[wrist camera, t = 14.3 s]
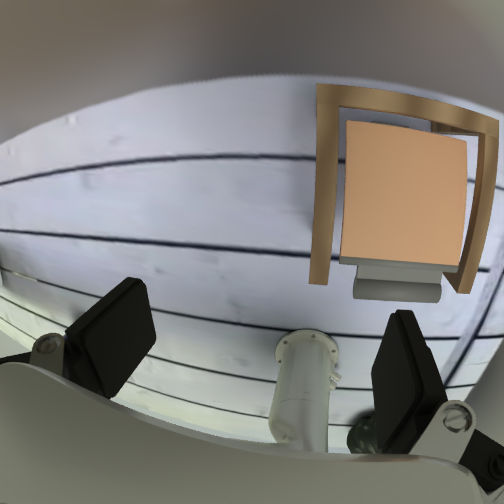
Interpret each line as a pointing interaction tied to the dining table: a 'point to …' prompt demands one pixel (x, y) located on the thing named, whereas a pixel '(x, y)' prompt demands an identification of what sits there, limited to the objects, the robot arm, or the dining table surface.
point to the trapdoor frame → (442, 122)
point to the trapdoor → (402, 210)
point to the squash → (363, 437)
